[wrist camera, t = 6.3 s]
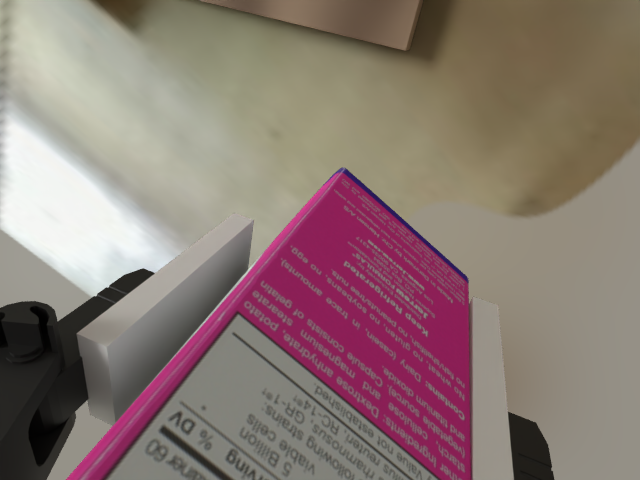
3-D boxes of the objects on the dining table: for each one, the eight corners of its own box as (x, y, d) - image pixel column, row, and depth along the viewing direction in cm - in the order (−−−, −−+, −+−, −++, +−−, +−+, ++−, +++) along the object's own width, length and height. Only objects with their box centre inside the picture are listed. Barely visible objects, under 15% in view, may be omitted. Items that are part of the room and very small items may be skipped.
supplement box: (366, 359, 16) (210, 832, 7) (255, 263, 16) (-75, 615, 6) (479, 280, 13) (491, 952, 4) (345, 159, 13) (-41, 541, 3)
